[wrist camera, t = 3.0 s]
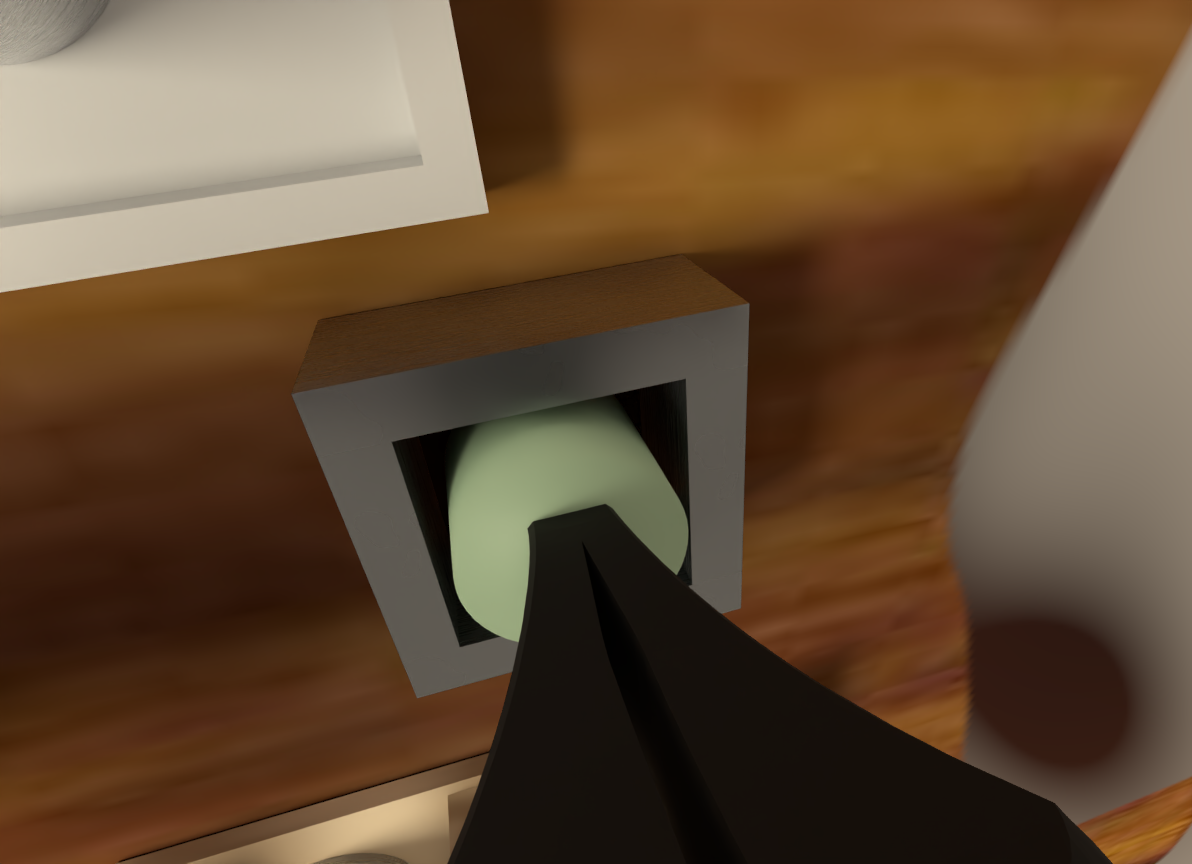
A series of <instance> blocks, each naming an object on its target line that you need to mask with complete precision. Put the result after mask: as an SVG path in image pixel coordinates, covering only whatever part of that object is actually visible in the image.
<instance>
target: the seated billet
mask: <svg viewBox="0 0 1192 864" xmlns="http://www.w3.org/2000/svg"><path fill="white" fill-rule="evenodd" d="M312 864H410V863H408V862H406V861H405V860H403V859H400V858H398V857H395V856H391V855H386V854H378V853H356V854H347V855H341V856H336V857H331V858H328V859H324V860H321V861H318V862H315V863H312Z"/></svg>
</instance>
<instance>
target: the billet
mask: <svg viewBox="0 0 1192 864" xmlns="http://www.w3.org/2000/svg"><path fill="white" fill-rule="evenodd" d="M109 1H110V0H0V65H14V64H20V63H25V62H30V61H35V60H38V59H41V58H44V57H46V56H49V55H52V54H55V53H57V52H59V51H60V50H62V49H64V48H66V47H68V46H69V45H71V44H73V43H74V42H76V41H77V40H78V39H79V38H80V37H82V36H83V35H84V34H85V33H86V32H87V31H89V30H90V29H91V27H92V26H93V25H94V24H95V23H96V21H97V20H98V19H99V18H100V16H101V15H102V14H103V13H104V11H105V9H106V7H107V5H108V3H109Z"/></svg>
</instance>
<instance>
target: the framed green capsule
mask: <svg viewBox="0 0 1192 864" xmlns="http://www.w3.org/2000/svg"><path fill="white" fill-rule="evenodd" d="M748 334H749V303H748V302H747V301H746V300H744V299H743V298H741V297H740V296H739V295H737V294H736V293H735V292H733V291H732V290H730V289H729V288H728V287H726V286H725V285H724V284H722V283H721V282H719V281H718V280H717V279H715V278H714V277H713V276H711V275H710V274H708V273H707V272H706V271H704V270H703V269H701V268H700V267H699V266H697V265H696V264H695V263H693V262H692V261H690V260H689V259H688V258H686V257H685V256H684V255H682V254H681V255H675V256H670V257H664V258H659V259H653V260H648V261H642V262H637V263H631V264H626V265H620V266H615V267H609V268H604V269H598V270H593V271H587V272H582V273H576V274H571V275H565V276H560V277H554V278H549V279H543V280H538V281H532V282H527V283H521V284H516V285H510V286H505V287H499V288H494V289H488V290H483V291H477V292H472V293H466V294H461V295H455V296H450V297H444V298H439V299H433V300H428V301H422V302H417V303H411V304H406V305H400V306H395V307H389V308H384V309H378V310H373V311H367V312H362V313H356V314H351V315H345V316H340V317H334V318H329V319H323V320H318V322H317V325H316V328H315V330H314V333H313V336H312V339H311V341H310V344H309V347H308V350H307V352H306V355H305V358H304V361H303V363H302V366H301V369H300V371H299V374H298V377H297V380H296V382H295V385H294V388H293V391H292V393H291V394H292V397H293V399H294V402H295V404H296V407H297V409H298V411H299V414H300V416H301V419H302V421H303V423H304V426H305V428H306V431H307V433H308V436H309V438H310V440H311V443H312V445H313V448H314V450H315V452H316V455H317V457H318V460H319V462H320V465H321V467H322V469H323V472H324V474H325V477H326V479H327V481H328V484H329V486H330V489H331V491H332V494H333V496H334V498H335V501H336V503H337V506H338V508H339V510H340V513H341V515H342V518H343V520H344V522H345V525H346V527H347V530H348V532H349V535H350V537H351V539H352V542H353V544H354V547H355V549H356V551H357V554H358V556H359V559H360V561H361V564H362V566H363V568H364V571H365V573H366V576H367V578H368V580H369V583H370V585H371V588H372V590H373V593H374V595H375V597H376V600H377V602H378V605H379V607H380V609H381V612H382V614H383V617H384V619H385V622H386V624H387V626H388V629H389V631H390V634H391V636H392V638H393V641H394V643H395V646H396V648H397V651H398V653H399V655H400V658H401V660H402V663H403V665H404V667H405V670H406V672H407V675H408V677H409V680H410V682H411V684H412V687H413V689H414V692H415V694H416V696H417V698H420V697H423V696H427V695H431V694H434V693H438V692H441V691H445V690H449V689H452V688H456V687H459V686H463V685H467V684H470V683H474V682H477V681H481V680H485V679H488V678H492V677H495V676H499V675H503V674H506V673H510V672H512V671H513V666H514V661H515V657H516V652H517V647H518V643H519V642H516V641H513V640H509V639H506V638H504V637H501V636H499V635H496V634H494V633H493V632H491V631H489V630H487V629H486V628H484V627H483V626H482V625H480V624H479V623H478V622H477V621H475V620H474V619H473V618H472V616H471V615H470V614H469V613H468V612H467V611H466V609H465V608H464V606H463V605H462V603H461V602H460V599H459V597H458V594H457V592H456V589H455V584H454V580H453V568H452V555H451V542H450V539H449V536H448V533H447V529H446V526H445V523H444V519H443V516H442V513H441V509H440V506H439V503H438V500H437V496H436V493H435V490H434V486H433V483H432V480H431V476H430V473H429V470H428V467H427V463H426V460H425V457H424V453H423V450H422V447H421V443H420V440H419V437H418V436H421V435H425V434H430V433H435V432H439V431H444V430H449V429H453V428H458V427H463V426H467V425H472V424H477V423H481V422H486V421H491V420H495V419H500V418H505V417H509V416H514V415H519V414H523V413H528V412H533V411H537V410H542V409H547V408H551V407H556V406H561V405H565V404H570V403H575V402H579V401H584V400H589V399H593V398H598V397H603V396H607V395H612V394H617V393H621V392H626V391H631V390H635V389H639V402H640V415H641V428H642V439H643V440H644V442H645V444H646V445H647V447H648V449H649V450H650V452H651V454H652V455H653V457H654V459H655V460H656V462H657V464H658V465H659V467H660V469H661V470H662V472H663V473H664V475H665V477H666V478H667V480H668V482H669V483H670V485H671V487H672V488H673V490H674V492H675V493H676V495H677V497H678V498H679V500H680V502H681V504H682V506H683V508H684V511H685V515H686V518H687V524H688V545H687V550H686V554H685V557H684V560H683V563H682V566H681V568H680V570H679V572H678V574H677V576H678V577H679V578H680V579H681V580H682V581H683V582H684V583H686V584H687V585H688V586H689V587H690V588H691V589H692V590H693V591H695V592H696V593H697V594H698V595H699V596H700V597H701V598H703V599H704V600H705V601H706V602H707V603H709V604H710V605H711V606H712V607H714V608H715V609H716V610H717V611H718V612H720V613H721V614H722V613H725V612H729V611H733V610H736V609H740V608H741V583H742V548H743V512H744V477H745V441H746V406H747V370H748Z"/></svg>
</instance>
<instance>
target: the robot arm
mask: <svg viewBox="0 0 1192 864" xmlns="http://www.w3.org/2000/svg"><path fill="white" fill-rule="evenodd" d="M527 530H528V535H529V550H530V556H529V574H528V586H527V593H526V601H525V608H524V615H523V622H522V628H521V633H520V638H519V643H518V647H517V652H516V657H515V661H514V666H513V671H512V675H511V679H510V683H509V687H508V691H507V695H506V699H505V702H504V706H503V710H502V713H501V716H500V720H499V723H498V726H497V730H496V733H495V736H494V740H493V743H492V746H491V749H490V752H489V755H488V758H487V761H486V764H485V766H484V769H483V772H482V775H481V778H480V781H479V784H478V787H477V790H476V793H475V795H474V798H473V801H472V803H471V806H470V809H469V812H468V814H467V817H466V819H465V822H464V825H463V827H462V829H461V832H460V834H459V837H458V839H457V841H456V844H455V846H454V849H453V851H452V853H451V856H450V858H449V861H448V863H447V864H1112V862H1111V861H1110V860H1109V859H1108V858H1107V857H1106V856H1105V854H1104V853H1103V852H1102V851H1101V850H1100V849H1099V848H1098V847H1097V846H1096V845H1095V843H1094V842H1093V841H1092V840H1091V839H1090V838H1089V837H1088V836H1087V835H1086V834H1085V833H1084V832H1083V831H1082V830H1080V829H1079V828H1078V827H1077V826H1076V825H1075V824H1074V823H1073V822H1072V821H1071V820H1070V819H1069V818H1068V817H1067V816H1066V815H1065V814H1064V813H1063V812H1062V810H1061V809H1060V808H1059V807H1058V806H1057V805H1056V804H1055V803H1053V802H1051V801H1049V800H1047V799H1044V798H1042V797H1040V796H1038V795H1036V794H1033V793H1031V792H1029V791H1027V790H1025V789H1022V788H1020V787H1018V786H1016V785H1013V784H1011V783H1009V782H1007V781H1005V780H1002V779H1000V778H998V777H996V776H993V775H991V774H989V773H987V772H985V771H982V770H980V769H978V768H976V767H974V766H971V765H969V764H967V763H965V762H963V761H960V760H958V759H956V758H954V757H952V756H950V755H948V754H946V753H944V752H942V751H940V750H938V749H936V748H934V747H932V746H931V745H929V744H927V743H925V742H923V741H921V740H919V739H917V738H915V737H913V736H911V735H909V734H907V733H905V732H903V731H902V730H900V729H898V728H896V727H894V726H892V725H890V724H889V723H887V722H885V721H883V720H882V719H880V718H878V717H876V716H875V715H873V714H871V713H870V712H868V711H866V710H864V709H863V708H861V707H859V706H857V705H856V704H854V703H852V702H851V701H849V700H847V699H845V698H844V697H842V696H840V695H838V694H837V693H835V692H833V691H831V690H830V689H828V688H826V687H825V686H823V685H821V684H820V683H818V682H817V681H815V680H813V679H812V678H810V677H809V676H807V675H806V674H804V673H803V672H801V671H800V670H798V669H797V668H795V667H794V666H792V665H790V664H789V663H787V662H786V661H784V660H783V659H781V658H780V657H779V656H777V655H776V654H774V653H773V652H771V651H770V650H769V649H767V648H766V647H764V646H763V645H761V644H760V643H759V642H757V641H756V640H755V639H753V638H752V637H750V636H749V635H748V634H746V633H745V632H744V631H742V630H741V629H740V628H739V627H737V626H736V625H735V624H733V623H732V622H731V621H730V620H728V619H727V618H726V617H725V616H723V615H722V614H721V613H720V612H718V611H717V610H716V609H715V608H714V607H712V606H711V605H710V604H709V603H707V602H706V601H705V600H704V599H703V598H701V597H700V596H699V595H698V594H697V593H696V592H695V591H693V590H692V589H691V588H690V587H689V586H688V585H687V584H686V583H684V582H683V581H682V580H681V579H680V578H679V577H678V576H677V575H676V574H675V573H674V572H673V571H671V570H670V569H669V568H668V567H667V566H666V565H665V564H664V563H663V562H662V561H661V560H660V559H659V558H658V557H657V556H656V555H655V554H654V553H653V552H652V551H651V550H650V549H649V548H648V547H647V546H646V545H645V544H644V543H643V542H642V541H641V540H640V539H639V538H638V537H637V536H636V535H635V534H634V533H633V531H632V530H631V529H630V528H629V527H628V526H627V525H626V524H625V523H624V521H623V520H622V519H621V518H620V517H619V516H618V514H617V513H616V512H615V511H614V509H613V508H612V507H610V506H608V505H607V504H602V505H598V506H594V507H590V508H586V509H582V510H578V511H574V512H570V513H566V514H561V515H557V516H553V517H549V518H545V519H541V520H537V521H533V522H532V523H531V525H530V526H529V527H528V528H527Z"/></svg>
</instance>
